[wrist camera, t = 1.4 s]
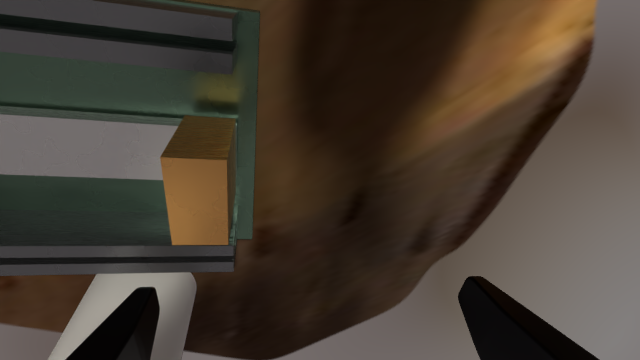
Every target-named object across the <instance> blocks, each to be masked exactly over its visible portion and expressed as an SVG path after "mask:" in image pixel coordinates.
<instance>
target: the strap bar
mask: <svg viewBox="0 0 640 360" xmlns="http://www.w3.org/2000/svg"><path fill="white" fill-rule="evenodd" d="M0 174H5V175H34V176H62V177H90V178H118V179H147V180H163V182H164V189H165V197H166V204H167V211H168V218H169V225H170V233H171V240H172V245H228V243H229V236H230V229H231V222H232V214H233V207H234V200H235V193H236V177H237V123H236V119H230V118H216V117H202V116H189V115H185V116H184V118H183V119H178V118H164V117H150V116H136V115H122V114H108V113H94V112H80V111H66V110H52V109H38V108H24V107H10V106H0Z"/></svg>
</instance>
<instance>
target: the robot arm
mask: <svg viewBox="0 0 640 360" xmlns="http://www.w3.org/2000/svg"><path fill="white" fill-rule="evenodd" d="M458 300H459V303H460V306H461V309H462V312H463V314H464V317H465V320H466V323H467V326H468V329H469V331H470V334H471V337H472V340H473V343H474V345H475V347H476V350H477V353H478V355H479V357H480V359H481V360H599V359H598V358H596V357H595V356H594V355H592V354H591V353H589V352H588V351H586V350H585V349H584V348H582V347H581V346H579V345H578V344H576V343H575V342H574V341H572V340H571V339H569V338H568V337H566V336H565V335H564V334H562V333H561V332H560V331H558V330H557V329H555V328H554V327H553V326H551V325H550V324H548V323H547V322H545V321H544V320H543V319H541V318H540V317H538V316H537V315H536V314H534V313H533V312H531V311H530V310H529V309H527V308H526V307H524V306H523V305H521V304H520V303H518V302H517V301H516V300H514V299H513V298H512V297H510V296H509V295H507V294H506V293H505V292H503V291H502V290H500V289H499V288H497V287H496V286H495V285H493V284H492V283H490V282H489V281H488V280H486V279H484V278H483V277H481V276H470V277H468V278H467V279H466V280H465V282H464V284H463V286H462V288H461V290H460V292H459V295H458ZM159 314H160V306H159V301H158V296H157V291H156V289H155V287H138V288H136V289H135V290H134V291H133V292H132V293H131V294H130V295H129V296H128V297H127V298H126V299H125V300H124V301H123V302H122V303H121V304H120V305H119V306H118V307H117V308H116V309H115V310H114V311H113V312H112V313H111V314H110V315H109V316H108V317H107V318H106V319H105V320H104V321H103V322H102V323H101V324H100V325H99V326H98V327H97V328H96V329H95V330H94V331H93V332H92V333H91V334H90V335H89V336H88V337H87V338H86V339H85V340H84V341H83V342H82V343H81V344H80V345H79V346H78V347H77V348H76V349H75V350H74V351H73V352H72V353H71V354H70V355H69V356H68V357H67V358H66V359H65V360H150V358H151V353H152V349H153V344H154V339H155V334H156V329H157V324H158V320H159Z"/></svg>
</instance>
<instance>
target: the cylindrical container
mask: <svg viewBox="0 0 640 360" xmlns="http://www.w3.org/2000/svg"><path fill="white" fill-rule="evenodd" d="M138 287H155V289H156V291H157V296H158V301H159V306H160V314H159V320H158V324H157V329H156V334H155V339H154V344H153V349H152V353H151V358H150V360H181V358H182V353H183V349H184V345H185V340H186V336H187V331H188V326H189V322H190V317H191V313H192V308H193V304H194V299H195V295H196V290H197V286H196V281H195V278H194V276H193V275H192V274H191V272H180V273H123V274H96V276H95V278H94V280H93V281H92V283H91V285H90V286H89V288H88V290H87V292H86V293H85V295H84V297H83V299H82V300H81V302H80V304H79V306H78V307H77V309H76V311H75V313H74V314H73V316H72V318H71V320H70V321H69V323H68V325H67V327H66V328H65V330H64V332H63V334H62V335H61V337H60V339H59V341H58V343H57V344H56V346H55V348H54V350H53V351H52V353H51V355H50V356H49V358H48V360H65V359H66V358H67V357H68V356H69V355H70V354H71V353H72V352H73V351H74V350H75V349H76V348H77V347H78V346H79V345H80V344H81V343H82V342H83V341H84V340H85V339H86V338H87V337H88V336H89V335H90V334H91V333H92V332H93V331H94V330H95V329H96V328H97V327H98V326H99V325H100V324H101V323H102V322H103V321H104V320H105V319H106V318H107V317H108V316H109V315H110V314H111V313H112V312H113V311H114V310H115V309H116V308H117V307H118V306H119V305H120V304H121V303H122V302H123V301H124V300H125V299H126V298H127V297H128V296H129V295H130V294H131V293H132V292H133V291H134V290H135V289H136V288H138Z"/></svg>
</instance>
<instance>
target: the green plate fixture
mask: <svg viewBox="0 0 640 360" xmlns="http://www.w3.org/2000/svg"><path fill="white" fill-rule="evenodd" d="M259 25H260V11H257V10H250V9H243V8H236V7H229V6H222V5H214V4H207V3H200V2H193V1H186V0H0V106H10V107H24V108H38V109H52V110H66V111H80V112H94V113H108V114H122V115H136V116H150V117H164V118H178V119H183V118H184V116H185V115H189V116H202V117H216V118H230V119H236V123H237V177H236V193H235V200H234V207H233V214H232V222H231V229H230V236H229V243H228V245H172V240H171V233H170V225H169V218H168V211H167V204H166V197H165V189H164V182H163V180H147V179H118V178H90V177H62V176H34V175H5V174H0V276H9V275H66V274H123V273H180V272H234V263H235V254H236V244H237V239H252V231H253V202H254V173H255V143H256V113H257V84H258V54H259Z"/></svg>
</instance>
